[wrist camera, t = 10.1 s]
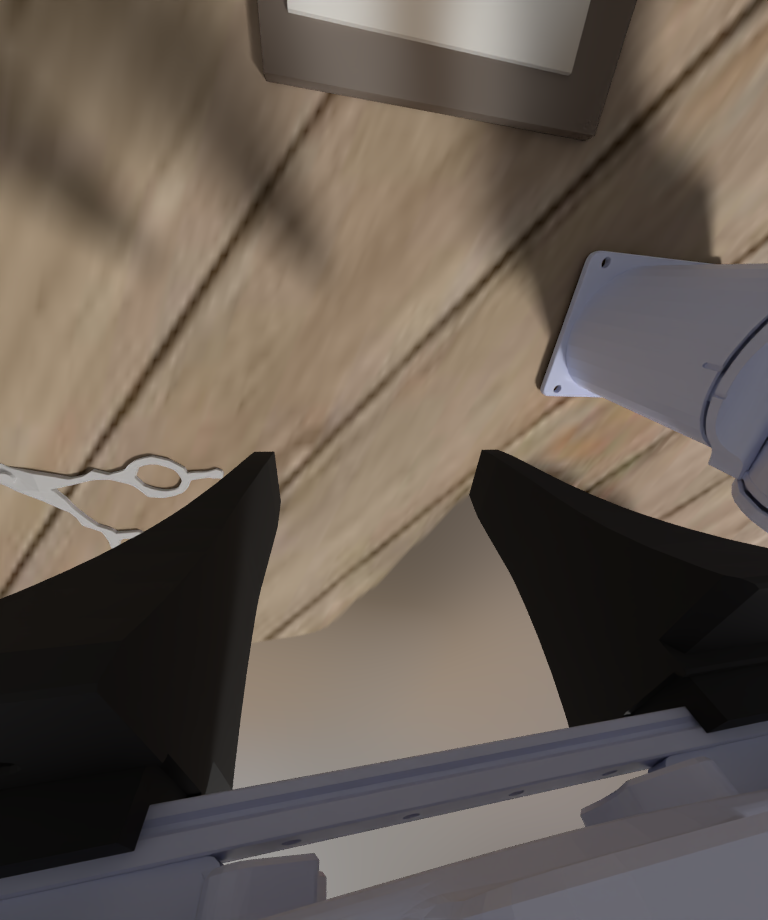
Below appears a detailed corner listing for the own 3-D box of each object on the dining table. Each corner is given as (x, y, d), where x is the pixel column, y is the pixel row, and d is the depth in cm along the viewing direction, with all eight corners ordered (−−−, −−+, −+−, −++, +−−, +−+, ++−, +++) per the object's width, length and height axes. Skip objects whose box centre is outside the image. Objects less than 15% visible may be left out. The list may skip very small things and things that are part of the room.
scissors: (183, 572, 24) (-230, 490, 16) (186, 565, 25) (-209, 482, 17) (224, 472, 20) (-299, 297, 12) (227, 466, 21) (-267, 296, 13)
